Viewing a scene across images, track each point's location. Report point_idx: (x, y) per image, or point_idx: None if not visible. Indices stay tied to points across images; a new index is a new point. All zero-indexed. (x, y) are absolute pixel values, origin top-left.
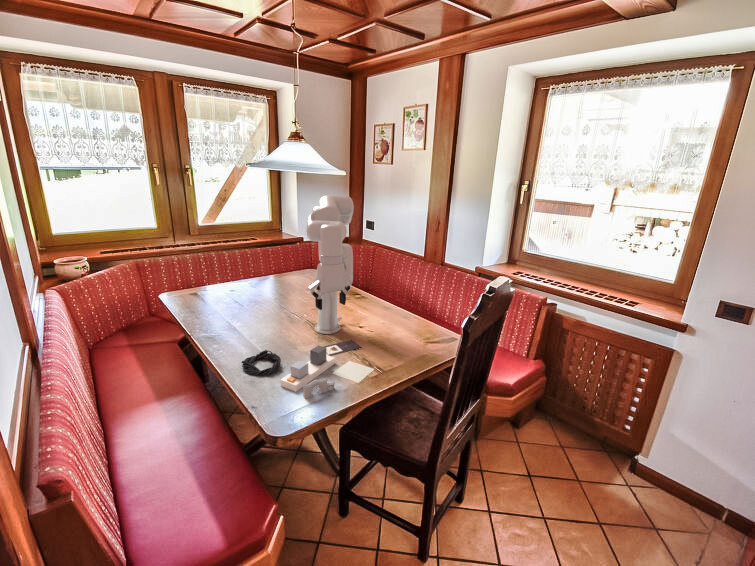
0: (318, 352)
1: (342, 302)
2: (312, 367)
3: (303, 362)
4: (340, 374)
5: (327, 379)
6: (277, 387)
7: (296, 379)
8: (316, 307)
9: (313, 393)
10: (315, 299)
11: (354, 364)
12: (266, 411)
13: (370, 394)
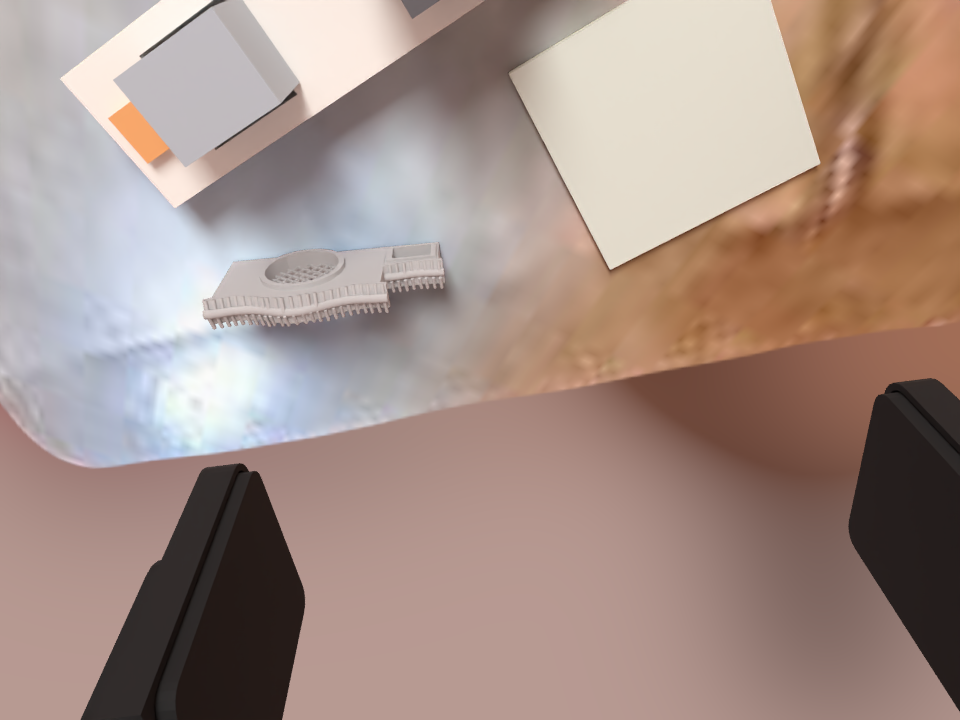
0: (414, 5)
1: (875, 536)
2: (357, 3)
3: (241, 68)
4: (559, 118)
5: (385, 305)
6: (64, 61)
7: None
8: (210, 476)
9: (294, 272)
10: (84, 714)
11: (742, 21)
12: (3, 289)
13: (606, 381)
